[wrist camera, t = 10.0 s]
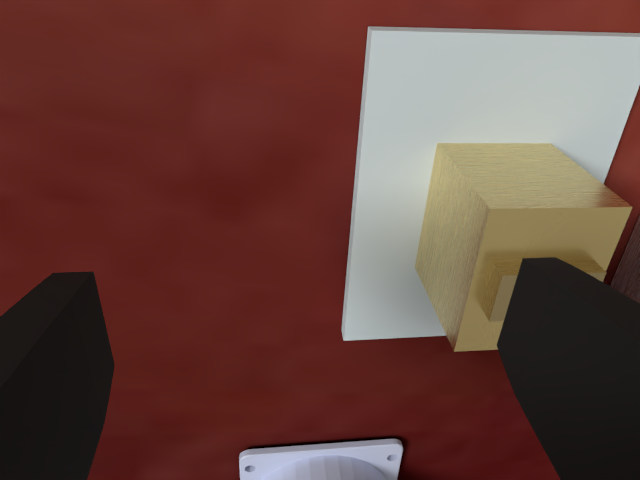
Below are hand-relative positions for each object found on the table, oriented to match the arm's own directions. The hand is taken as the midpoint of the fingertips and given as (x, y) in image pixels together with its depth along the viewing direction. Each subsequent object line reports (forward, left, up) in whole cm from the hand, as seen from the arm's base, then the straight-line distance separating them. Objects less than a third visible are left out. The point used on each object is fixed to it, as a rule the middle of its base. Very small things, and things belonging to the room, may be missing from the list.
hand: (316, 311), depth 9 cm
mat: (-3, -7, -9) cm, 12 cm away
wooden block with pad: (-3, -7, -9) cm, 12 cm away
